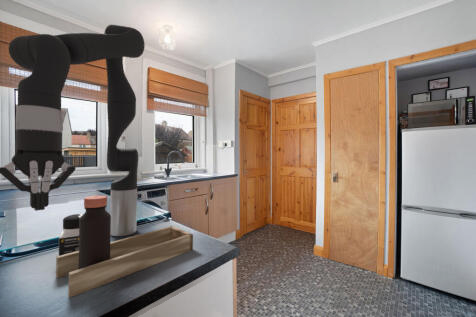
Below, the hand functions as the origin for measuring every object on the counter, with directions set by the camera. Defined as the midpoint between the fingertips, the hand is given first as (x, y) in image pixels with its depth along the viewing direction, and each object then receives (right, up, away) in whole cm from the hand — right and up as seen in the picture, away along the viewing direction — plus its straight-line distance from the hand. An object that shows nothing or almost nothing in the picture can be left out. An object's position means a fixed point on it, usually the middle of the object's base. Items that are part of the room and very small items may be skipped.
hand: (39, 209), depth 48 cm
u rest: (+13, -19, +16) cm, 28 cm away
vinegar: (+6, -19, +9) cm, 22 cm away
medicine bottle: (-7, -19, +20) cm, 28 cm away
